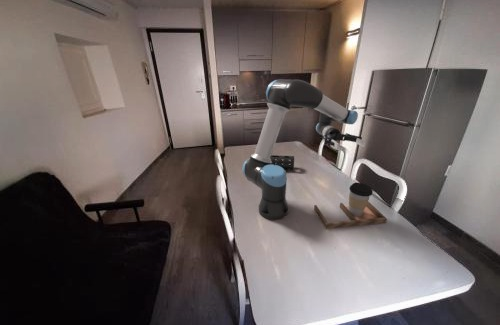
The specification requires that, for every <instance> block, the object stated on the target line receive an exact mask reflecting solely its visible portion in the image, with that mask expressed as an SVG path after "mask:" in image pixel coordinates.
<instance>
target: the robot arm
mask: <svg viewBox="0 0 500 325" xmlns="http://www.w3.org/2000/svg"><path fill="white" fill-rule="evenodd" d="M323 93H324V92H323V91H322V90H321V89H319V88H318V87H316V86H315V85H313V84H311V83H309V82H307V81H305V80H303V79H302V80H301V79H284V78H279V79H275V80H273V81H271V82H270V83H269V84H268V86H267V88H266V91H265V95H266V100H267V103H266V105H267V108H268V110H267V113H266V115H265V116H266V117H265V119H264V122H263V126H262V129H261V131H260V132H261V133H260V135H259V138H258V142H257V144H256V147H255V150H254V153H252V154H251V155H250V156H249V158H248V159H246V160H245V161H244V163H243V164H242V174H243V176H244V177H245V178H246V179H247V180H248V181H249V182H251V183H252V184H254V185H255V186H256V187H258V188H259V189H261V198H260V201H259V204H258V212H259V215H260V216H261V217H263V218H264V219H267V220H271V221H279V220H283V219H284V218H285V217H287V216H288V214H289V211H290V210H289V208H290V207H289V204H288V202H287V198H286V193H287V192H286V191H287V180H288V178H287V172H286V169H283V168H282V167H280V166H278V165H271V163H272V162H271V159H270V157H271V155H272V153H273V150H274V148H275V145H276V141H277V138H278V136H279V133H280V130H281V127H282V123H283V121H284V117H285V115H286V114H287V113H289V112H290V109H291V107H298V108H306V109H308V110H316V111H318V112H319V118H318V119H319V120H318V123H317V124H316V126H315V130H316V132H317V133H318V134H319V135H321V136H322V137H323V140H324V143H323V144H324V145H327V146H328V147H330V146H332V147H333V148H335V149H336V150H339V146H340V143H338V141H343V142H345V141H347V142H353V143H355V144H356V145H358V146H360V147H362V148H365V147H366V141H364V140H363V137H362V136H358V135H354V134H349V133H347V132H346V133H342V132H341V130H339V129H338V128H336V127H334V126H332V125H333V124H332V123H333V122H334V123H335V122H336V123H339V124H340V123H341V124H346V125H355V123H356V122H357V120H358V117H359V113H358V111H357V110H353V109H348V108H346V107H344V106H343V105H341V104H339V103H338V102H336V101H334V100H332V99H331V98H329V97H328V96H326V95H325V94H323Z"/></svg>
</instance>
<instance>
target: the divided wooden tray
mask: <svg viewBox="0 0 500 325" xmlns="http://www.w3.org/2000/svg"><path fill="white" fill-rule="evenodd" d="M339 209H340V210H341V211H342V212H343V213H344V215H345V216H346V217H347V218H348V219H349V220H343V221H342V220H341V221H331V222H328V221H327V219H326V218H325V215H323V213H322V211H321V210H320V209H319V207H318V206H317V205H316V204H315V205H314V207H313V210H314V212H315V214H316V215H317V217H318V218H319V220H320V221H321V223H322V225H323V226H324V228H325V229H326V230H327V229H339V228H349V227H360V226H368V225H369V226H370V225H381V224H386V223H387V219H388V218H387V217H386V216H385V215H383V214H382V212H381V211H379V210H378V209H377V208H376V207H375V206H374V205H373V204H372V203H371V202H370V201H368V203H367V205H366V207H365V209H364V211H363V214H362V216H360V217H354V216H353V215H352V214H351V213H350V211H349V205H347V206H346V205H345V204H344V203H343V202H339Z"/></svg>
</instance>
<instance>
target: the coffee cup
mask: <svg viewBox="0 0 500 325" xmlns="http://www.w3.org/2000/svg"><path fill="white" fill-rule="evenodd" d="M371 196H373V190H372V187H371V186H370V185H369V184H366V183H364V182H354V183H352V184H351V185H350V186H349V197H348V206H349V211H350V213H351V214H352V215H353V216H354V217H360V216H362V214H363V211H364V209H365V207H366V205H367V203H368V202H369V200H370V197H371Z"/></svg>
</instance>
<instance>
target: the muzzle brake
mask: <svg viewBox="0 0 500 325" xmlns="http://www.w3.org/2000/svg"><path fill="white" fill-rule="evenodd" d="M270 159H271V162H272V163H271V165H278V166H280V167H282V168H283V169H284V170H293V169H295V155H278V154H277V155H275V154H273V155H272V154H271V157H270Z"/></svg>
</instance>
